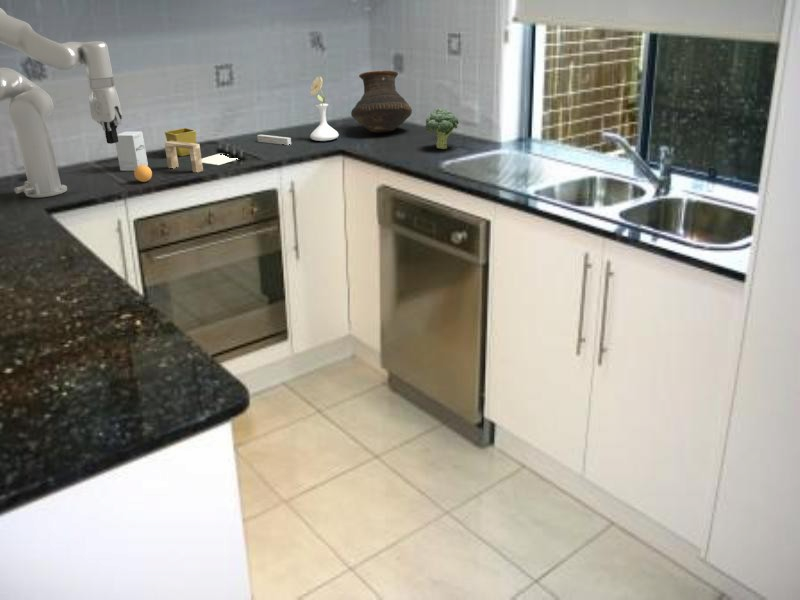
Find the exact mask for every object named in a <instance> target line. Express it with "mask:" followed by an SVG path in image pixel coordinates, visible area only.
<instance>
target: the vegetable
mask: <svg viewBox="0 0 800 600" xmlns="http://www.w3.org/2000/svg"><path fill="white" fill-rule="evenodd" d="M459 123H460V122H459V119H458V117H457V116H456V115H455V114H453V112H452V111H451V110H449V109H448V110H447V109H446V108H442V107H437V108H435V109H434V110H431V112H430V114H429V116H427V117H426V118H425V128H426V131H428V132H429V133H430V134H431V133H433V132H434V131H435V132H436V138H437V141H436V142H435V144H436V148H437V149H441V150H445V149H446V150H447V149H448V142H447V141H448V137H449V136H450V135H451V133H452V132H453V130H456V129H458V125H459Z"/></svg>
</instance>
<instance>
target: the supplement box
mask: <svg viewBox="0 0 800 600" xmlns="http://www.w3.org/2000/svg"><path fill="white" fill-rule="evenodd" d="M117 136H118V142H116V143H115V148H116V155H117V158H118V165H119V170H120V171H125V172H130V171H131V172H134V171H135V169H136V168H137V167H138V166H140V165H146V166H148V167H149V163H148V158H147V151H146V146H145V145H146V144H145V140H144V134H143V131H123V132H120V133H117Z"/></svg>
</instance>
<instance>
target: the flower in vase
mask: <svg viewBox="0 0 800 600" xmlns="http://www.w3.org/2000/svg"><path fill="white" fill-rule="evenodd" d="M323 82H324V81H323V78H322V76H316V78H315V80H312V85H311V87H310V95H311V96H312V97H315V96H316V95H317V94H318V95H317V99H318V100H319V101H320V102H322V103H318V104H315V107H316V108H317V110H318V113H319V119H320V122H319V125H318V126H317V127H316V128H315V129H314V130H312V132H311V134H310V136H309V137H310V139H311V140H312V141H313V140H314V141H320V142H327V141H328V142H329V141H332V140H335V139H337V138H338V137H339V135H340V134H339V132H338V131H337V130H336V129H334V128H333V127H332V126H330V125H329V124H328V122H327V109H328V106H329V103H326V96H325V95H324V92H323V91H322V89H321V88H322V87H323ZM319 92H321V95H322V96H321V95H320V94H319Z"/></svg>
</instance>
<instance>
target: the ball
mask: <svg viewBox="0 0 800 600" xmlns="http://www.w3.org/2000/svg"><path fill="white" fill-rule="evenodd" d="M133 172H134V173H133V174H134V177H135V179H136V180H137V181H139V182H141V183H146V182H148V181H149V180H151V178H152V176H153V171H152V169H151V168H150V167H149V165H148V166H146V165H140V166H138V167H137V168H136V169H135V171H133Z"/></svg>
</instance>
